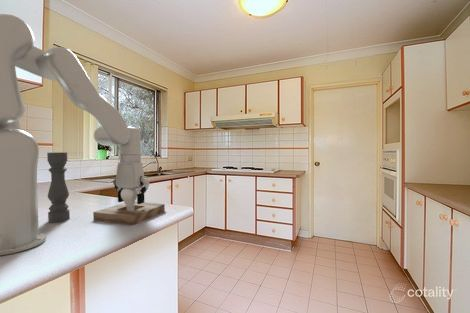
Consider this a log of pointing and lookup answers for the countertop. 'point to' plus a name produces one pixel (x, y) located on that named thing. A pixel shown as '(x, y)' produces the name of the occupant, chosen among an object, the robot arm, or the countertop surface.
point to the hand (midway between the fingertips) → (131, 202)
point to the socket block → (128, 213)
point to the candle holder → (58, 188)
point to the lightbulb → (129, 198)
